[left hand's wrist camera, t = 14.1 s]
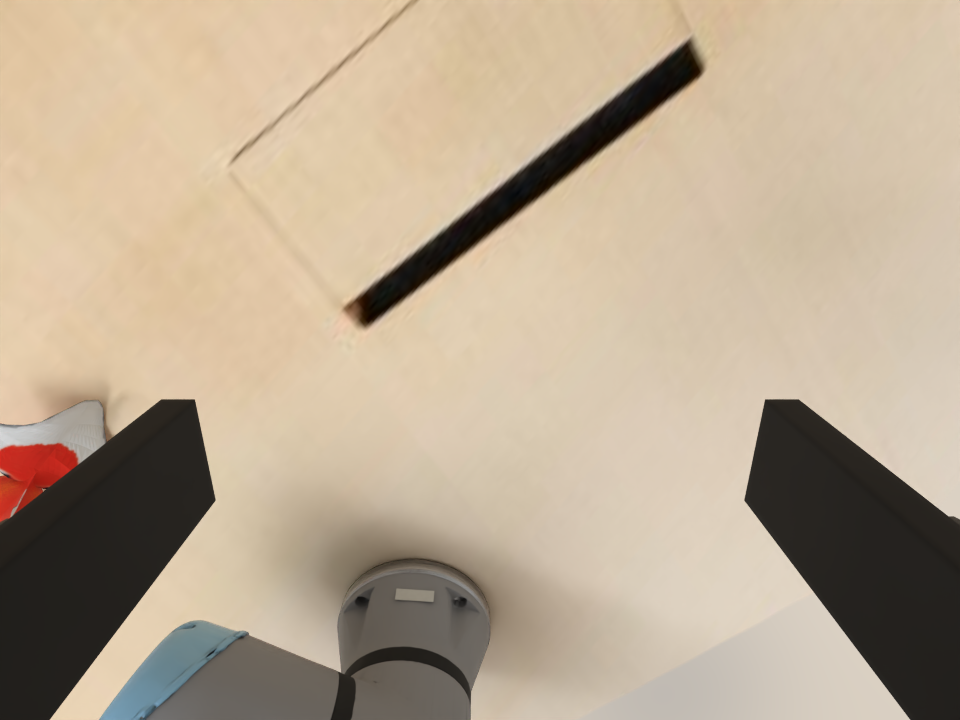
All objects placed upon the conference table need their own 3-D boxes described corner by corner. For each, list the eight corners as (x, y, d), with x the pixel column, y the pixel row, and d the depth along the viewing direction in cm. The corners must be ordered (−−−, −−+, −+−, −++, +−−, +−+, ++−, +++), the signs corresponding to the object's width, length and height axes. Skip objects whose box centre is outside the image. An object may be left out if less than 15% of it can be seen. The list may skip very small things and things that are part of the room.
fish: (-117, 461, 44) (-163, 539, 37) (63, 345, 48) (56, 395, 40) (3, 529, 51) (-14, 607, 43) (154, 423, 54) (162, 477, 47)
